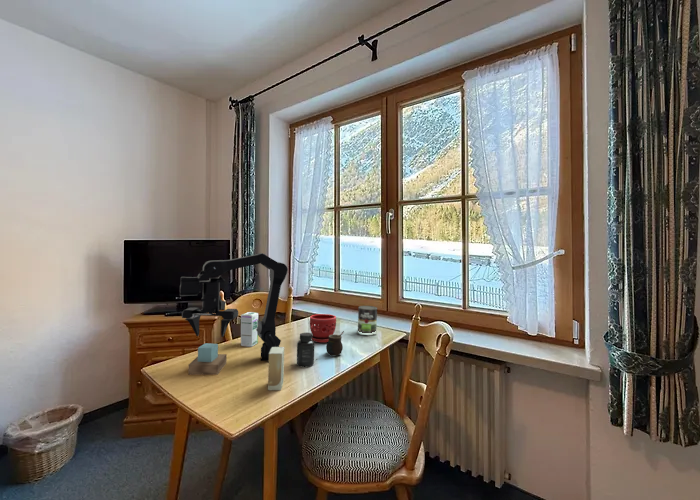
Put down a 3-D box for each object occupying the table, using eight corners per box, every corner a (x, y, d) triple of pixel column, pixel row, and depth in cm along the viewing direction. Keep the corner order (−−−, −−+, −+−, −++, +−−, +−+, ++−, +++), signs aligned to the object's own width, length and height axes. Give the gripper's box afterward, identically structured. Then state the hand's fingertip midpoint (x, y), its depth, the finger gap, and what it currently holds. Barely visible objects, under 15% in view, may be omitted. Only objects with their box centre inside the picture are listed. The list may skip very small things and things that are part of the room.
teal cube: (217, 357, 115) (218, 343, 115) (211, 362, 110) (211, 348, 110) (204, 356, 115) (205, 343, 115) (197, 361, 110) (197, 347, 110)
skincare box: (270, 381, 104) (271, 346, 104) (283, 381, 104) (284, 346, 104) (267, 390, 98) (268, 353, 97) (281, 390, 98) (282, 353, 98)
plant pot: (340, 339, 153) (341, 315, 153) (324, 346, 142) (325, 320, 142) (320, 334, 160) (320, 311, 160) (303, 340, 149) (304, 316, 149)
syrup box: (251, 347, 137) (252, 315, 137) (240, 345, 139) (240, 314, 138) (258, 343, 143) (259, 312, 143) (246, 342, 144) (247, 311, 144)
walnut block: (226, 364, 118) (226, 354, 118) (217, 375, 108) (217, 364, 108) (199, 364, 117) (199, 354, 117) (188, 375, 107) (188, 364, 107)
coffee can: (375, 336, 159) (376, 310, 159) (356, 335, 161) (357, 308, 161) (377, 331, 169) (378, 306, 169) (358, 329, 171) (359, 305, 171)
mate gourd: (323, 352, 133) (324, 330, 133) (338, 350, 137) (339, 328, 137) (329, 358, 127) (330, 334, 127) (345, 356, 130) (346, 332, 130)
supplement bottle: (316, 362, 122) (317, 332, 122) (309, 369, 116) (310, 337, 115) (301, 359, 124) (302, 330, 124) (293, 366, 118) (294, 335, 118)
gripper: (243, 291, 121) (242, 330, 121) (196, 290, 121) (195, 329, 121) (233, 296, 110) (232, 339, 110) (181, 295, 110) (180, 338, 110)
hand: (210, 336), depth 113 cm, fingers open, 9 cm apart
